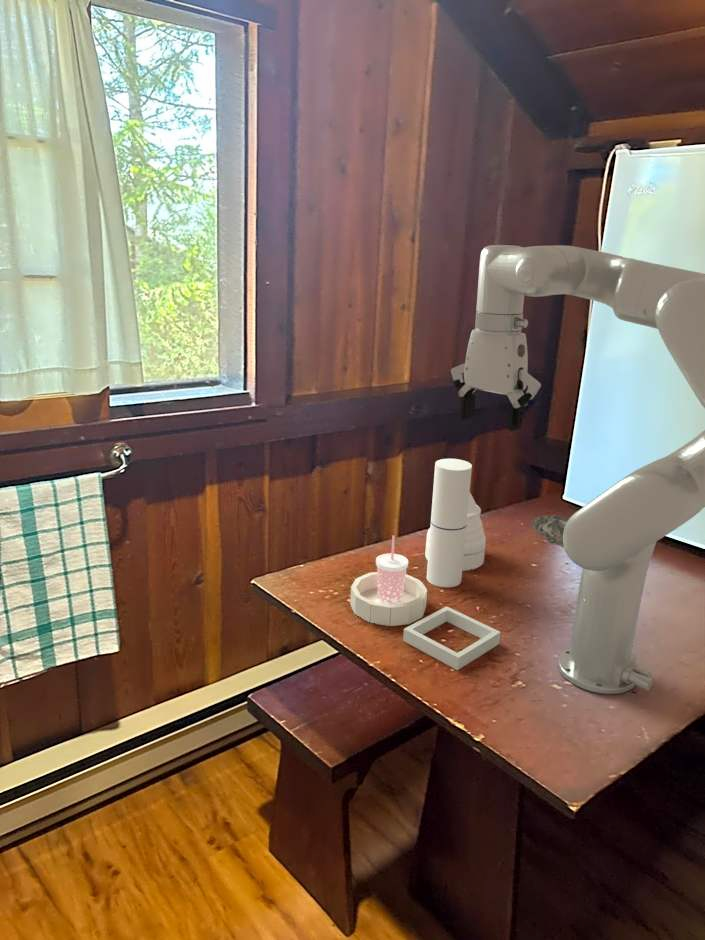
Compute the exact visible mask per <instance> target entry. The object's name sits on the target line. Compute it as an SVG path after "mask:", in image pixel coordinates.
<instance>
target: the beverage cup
mask: <svg viewBox="0 0 705 940" xmlns="http://www.w3.org/2000/svg"><path fill="white" fill-rule="evenodd" d="M391 536H392V537H391V538H392V539H391V552H390V553H389V552H388V553H383V554H380V555H377V556H376V558H375V566H376V570H377V571H376V572H377V585H378V603H383V604H389V605H394V604H402V598H403V591H404V583H405V576H406V574H407V568H408V567H409V559H408V558H407V557H406V556H404V555H402V554H397V553H395V541H396V539H395V538H396V537H395V536H396V535H395V534H394V535H391Z"/></svg>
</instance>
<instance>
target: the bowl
mask: <svg viewBox="0 0 705 940" xmlns="http://www.w3.org/2000/svg"><path fill="white" fill-rule="evenodd" d="M427 597H428V589H427V588H426V586H425V584H424V582H422V581H421V580H420V579H418V578H416V577H413V576H411V575H409V574H407V573H406V576H405V583H404V591H403V598H402V604H394V605H389V604H383V603H378V585H377V571H375V572H374V571H373V572H372V571H371V572H368V573H366V574H363V575H360V576H359V577H356V578H355V580H354V581H353V583H352V584H351V586H350V599H349V600H350V604H349V605H351V606H350V607H352V608H351V609H352V611H353V613H354V615H355V614H356V615H357V617H358V616H359V618H360V617H361V618H360V619H362V620H364V621H366V622H368V623H369V622H370V624H374V623H375V624H376V625H381V626H387V627H394V626H395V627H397V626H403V625H411V624H412V623H413V622H414V623H415V622H417V621H419V620H421V619H423V617H424V614H425V611H426V608H427V601H428V600H427V599H428V598H427ZM356 615H355V616H356Z"/></svg>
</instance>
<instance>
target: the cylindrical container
mask: <svg viewBox="0 0 705 940" xmlns="http://www.w3.org/2000/svg"><path fill="white" fill-rule="evenodd" d="M472 470H473V465H472V463H470V462H469V461H466V460H465V459H464V460H463V459H459V458H441V459H439V460H436V461H435V463H434V474H433V476H434V477H433V488H432V490H433V491H432V500H431V501H432V503H431V514H430V527H429V529H430V539H429V552H428V560H427V567H426V581H427V582H428V583H430V584H431V585H433V586H436V587H439V588H453V587H457V586H459V585H460V584H461V583H462V579H463V578H462V577H463V571H462V568H463V557H464V547H465V536H466V525H467V515H468V504H469V493H471V480H472Z"/></svg>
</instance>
